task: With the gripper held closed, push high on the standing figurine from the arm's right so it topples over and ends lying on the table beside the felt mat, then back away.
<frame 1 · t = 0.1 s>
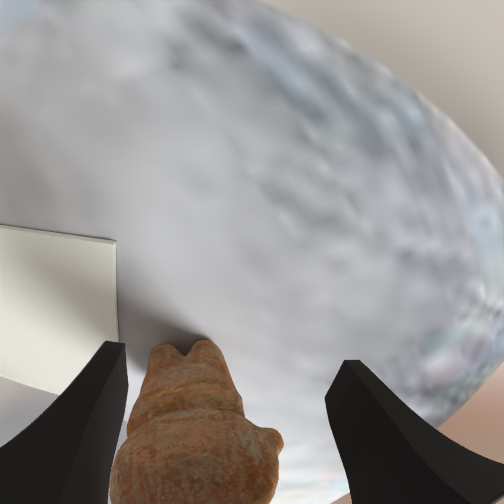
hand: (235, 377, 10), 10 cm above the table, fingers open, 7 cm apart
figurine: (201, 340, 22), on the table
felt mat: (37, 324, 20), on the table
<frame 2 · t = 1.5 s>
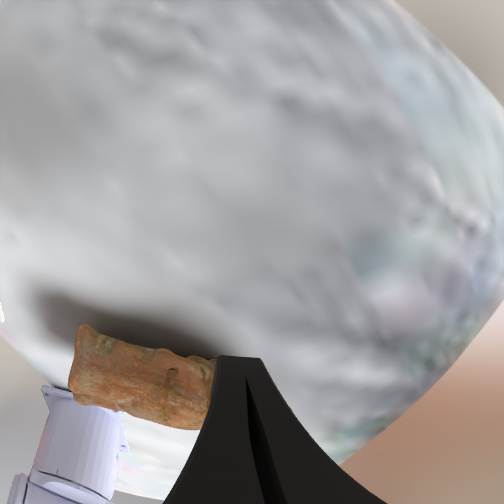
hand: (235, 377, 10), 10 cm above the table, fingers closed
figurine: (65, 384, 15), point 6 cm above the table
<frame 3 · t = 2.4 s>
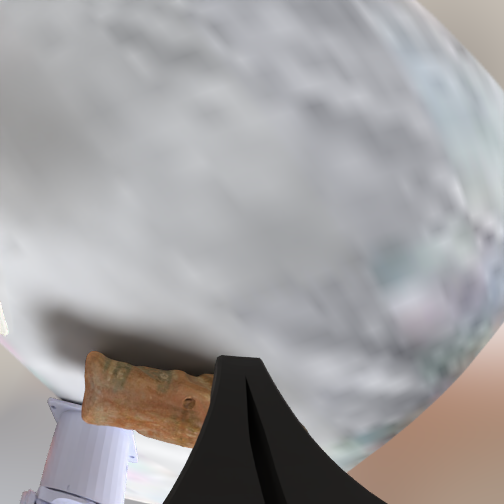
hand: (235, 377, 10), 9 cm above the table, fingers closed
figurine: (78, 416, 15), point 6 cm above the table
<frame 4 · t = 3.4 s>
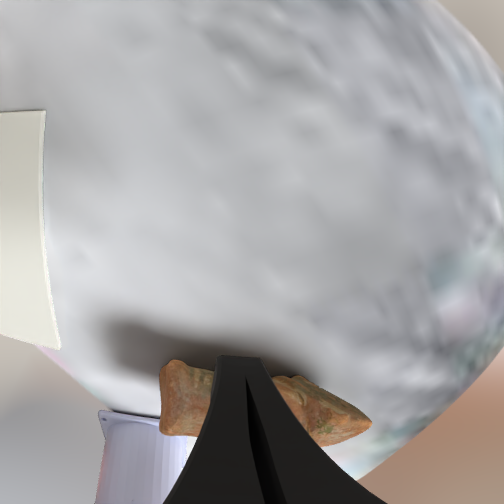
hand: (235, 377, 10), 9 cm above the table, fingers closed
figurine: (160, 427, 16), point 6 cm above the table
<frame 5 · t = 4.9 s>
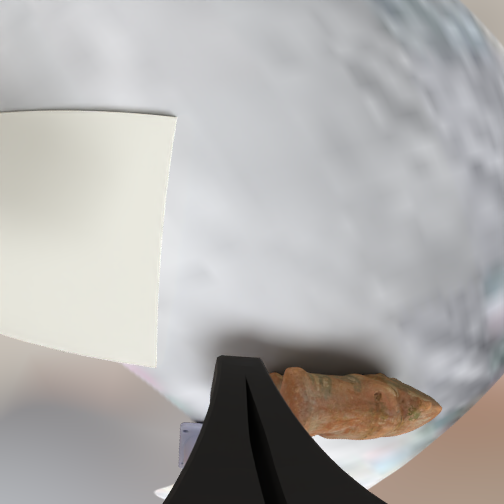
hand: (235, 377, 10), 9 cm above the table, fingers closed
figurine: (285, 432, 17), point 6 cm above the table
felt mat: (50, 247, 16), on the table
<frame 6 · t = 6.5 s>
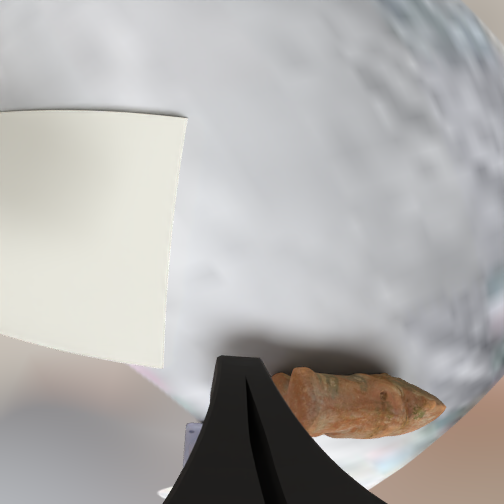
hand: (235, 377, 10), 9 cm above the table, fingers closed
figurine: (293, 431, 17), point 6 cm above the table
felt mat: (57, 248, 16), on the table
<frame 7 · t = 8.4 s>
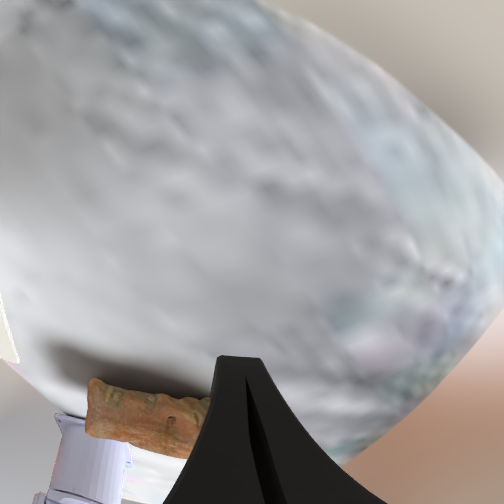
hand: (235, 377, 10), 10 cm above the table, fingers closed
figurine: (82, 430, 18), point 6 cm above the table
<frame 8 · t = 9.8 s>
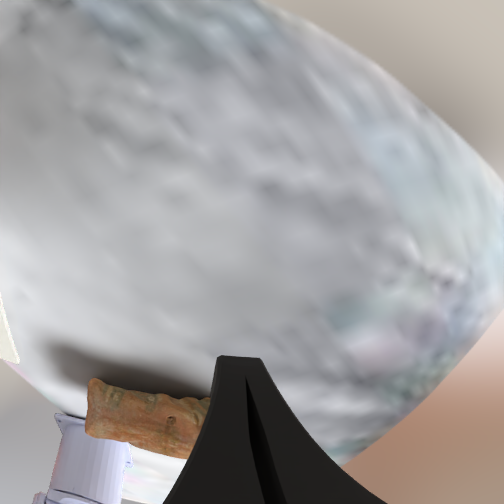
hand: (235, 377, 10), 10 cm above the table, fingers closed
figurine: (82, 430, 18), point 6 cm above the table
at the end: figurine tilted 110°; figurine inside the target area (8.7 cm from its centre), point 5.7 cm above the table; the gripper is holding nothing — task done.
